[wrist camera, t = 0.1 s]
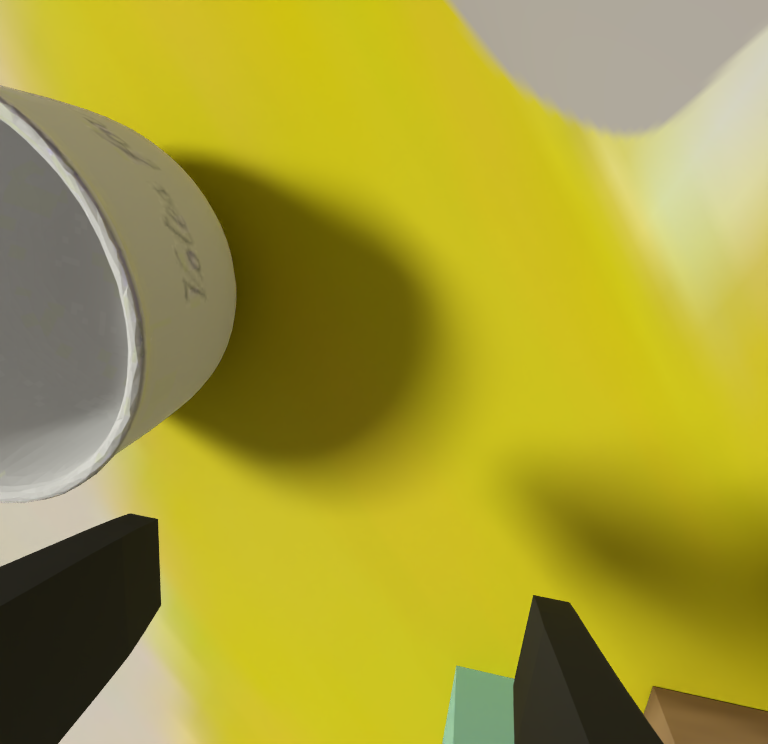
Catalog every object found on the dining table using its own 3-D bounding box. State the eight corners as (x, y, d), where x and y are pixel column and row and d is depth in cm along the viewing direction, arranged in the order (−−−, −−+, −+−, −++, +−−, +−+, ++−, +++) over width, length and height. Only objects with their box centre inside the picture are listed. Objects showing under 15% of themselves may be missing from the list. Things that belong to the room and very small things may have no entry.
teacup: (327, 253, 18) (215, 270, 10) (185, 460, 21) (22, 588, 14) (11, 2, 17) (-352, -177, 10) (-81, 255, 21) (-402, 269, 13)
